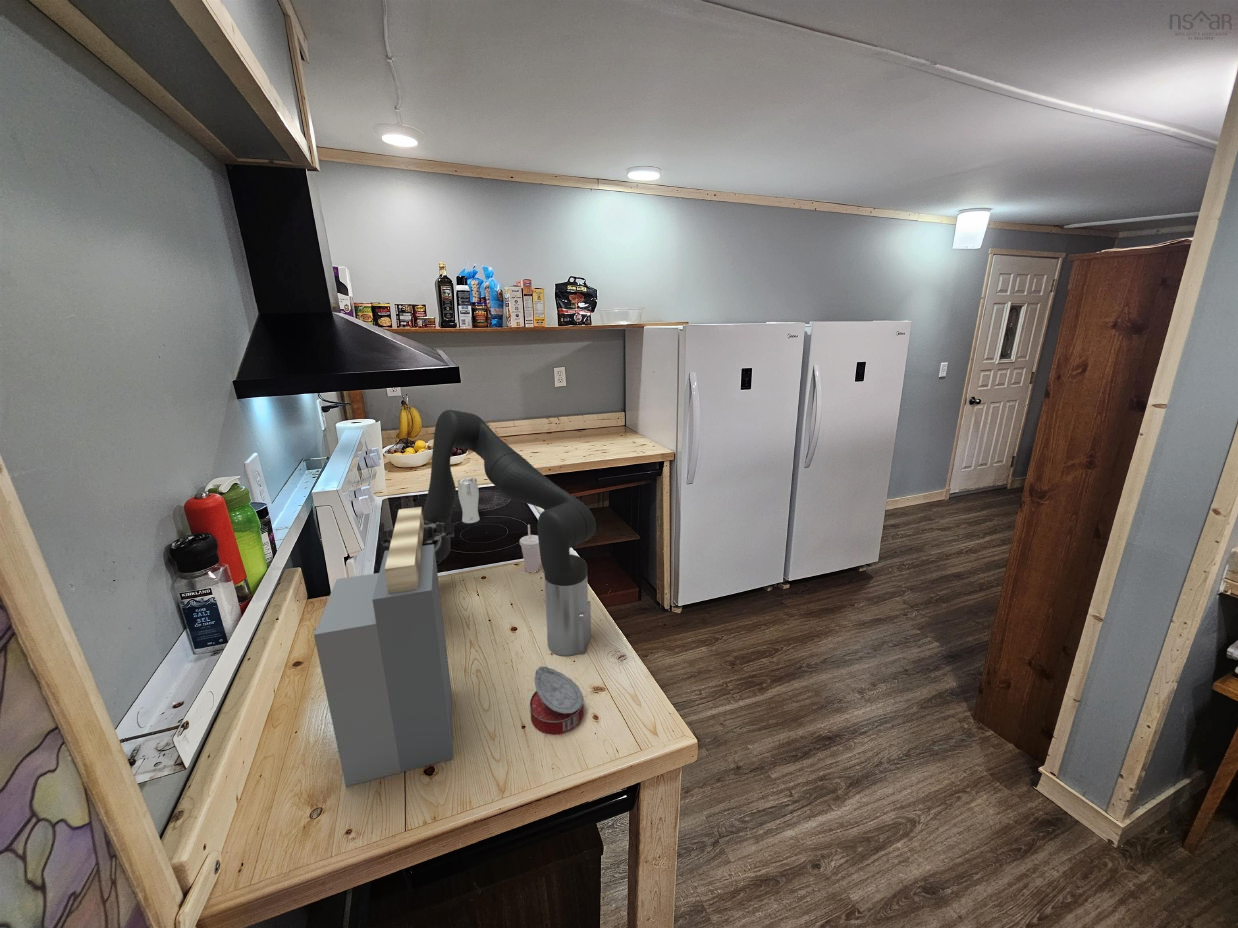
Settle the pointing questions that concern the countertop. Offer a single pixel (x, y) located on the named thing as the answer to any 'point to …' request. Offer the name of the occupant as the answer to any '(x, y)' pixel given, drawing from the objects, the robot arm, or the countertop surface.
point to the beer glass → (469, 499)
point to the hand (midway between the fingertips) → (415, 530)
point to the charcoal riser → (386, 673)
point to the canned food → (555, 702)
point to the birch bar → (405, 551)
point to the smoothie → (530, 551)
